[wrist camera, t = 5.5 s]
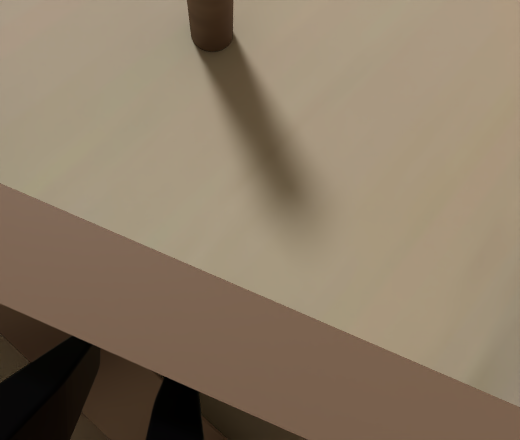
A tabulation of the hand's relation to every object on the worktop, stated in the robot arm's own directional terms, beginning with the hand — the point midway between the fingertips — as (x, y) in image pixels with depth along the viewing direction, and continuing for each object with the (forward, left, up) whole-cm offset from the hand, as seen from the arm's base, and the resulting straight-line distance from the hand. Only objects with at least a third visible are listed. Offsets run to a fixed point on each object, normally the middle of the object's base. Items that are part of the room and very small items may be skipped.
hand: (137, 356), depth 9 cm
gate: (+3, 0, -6) cm, 7 cm away
